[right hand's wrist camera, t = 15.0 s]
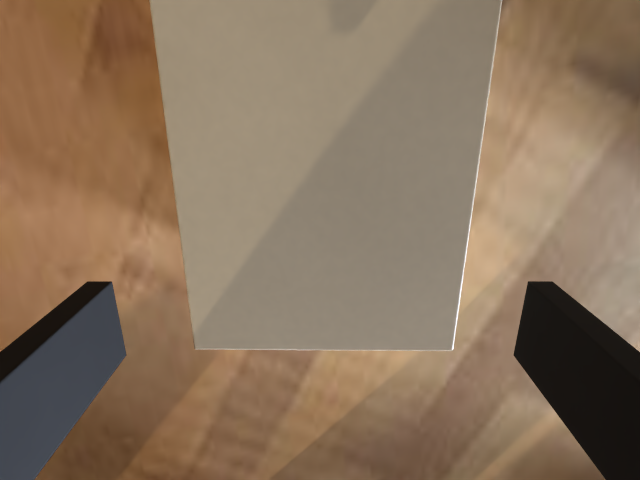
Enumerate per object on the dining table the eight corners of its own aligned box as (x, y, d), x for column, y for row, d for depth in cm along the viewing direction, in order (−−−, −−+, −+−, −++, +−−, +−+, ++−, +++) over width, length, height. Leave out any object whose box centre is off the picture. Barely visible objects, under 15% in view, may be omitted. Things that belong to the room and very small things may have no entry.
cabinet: (212, -109, 20) (110, -293, 10) (437, -110, 19) (545, -294, 10) (240, 256, 26) (193, 350, 17) (406, 257, 26) (453, 351, 17)
